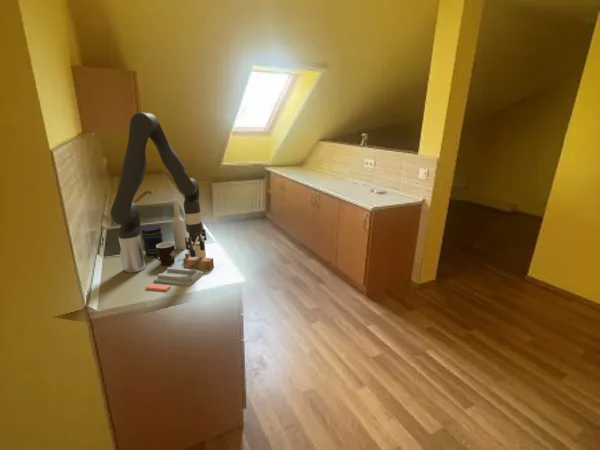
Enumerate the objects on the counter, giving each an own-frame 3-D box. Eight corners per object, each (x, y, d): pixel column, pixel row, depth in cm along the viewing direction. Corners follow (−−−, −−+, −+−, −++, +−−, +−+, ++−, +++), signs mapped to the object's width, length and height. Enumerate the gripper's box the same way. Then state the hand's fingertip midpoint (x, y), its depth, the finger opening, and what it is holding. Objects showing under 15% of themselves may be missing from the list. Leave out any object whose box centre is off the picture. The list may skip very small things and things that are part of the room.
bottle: (175, 250, 183) (169, 201, 174) (174, 246, 188) (168, 199, 180) (188, 248, 185) (182, 200, 177) (186, 244, 191) (180, 197, 182)
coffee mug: (171, 258, 172) (168, 240, 169) (180, 262, 167) (177, 244, 164) (149, 265, 164) (146, 247, 161) (158, 270, 158) (155, 251, 155)
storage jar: (141, 256, 175) (136, 229, 171) (152, 249, 184) (148, 224, 180) (157, 257, 173) (153, 231, 169) (168, 251, 182) (165, 225, 178)
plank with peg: (184, 268, 161) (182, 255, 159) (188, 265, 164) (187, 252, 162) (209, 271, 157) (208, 257, 155) (214, 267, 161) (212, 254, 159)
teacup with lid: (209, 256, 174) (207, 235, 171) (196, 262, 167) (193, 240, 164) (194, 251, 181) (192, 231, 177) (181, 257, 174) (178, 236, 170)
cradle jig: (153, 281, 147) (153, 276, 146) (170, 270, 158) (169, 265, 157) (189, 286, 143) (188, 280, 142) (203, 274, 154) (203, 268, 153)
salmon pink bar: (146, 290, 141) (145, 287, 140) (150, 286, 143) (149, 283, 143) (167, 292, 139) (166, 289, 138) (171, 288, 142) (170, 285, 141)
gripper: (194, 216, 161) (198, 247, 166) (177, 225, 148) (182, 258, 153) (208, 217, 159) (212, 248, 164) (192, 226, 146) (197, 259, 151)
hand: (198, 253), depth 158 cm, fingers open, 8 cm apart
